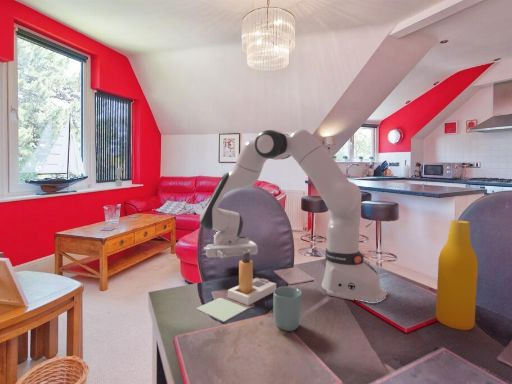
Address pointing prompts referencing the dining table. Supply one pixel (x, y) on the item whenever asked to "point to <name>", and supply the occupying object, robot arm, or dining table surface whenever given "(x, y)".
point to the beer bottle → (457, 279)
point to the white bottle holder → (259, 291)
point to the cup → (287, 307)
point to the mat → (221, 309)
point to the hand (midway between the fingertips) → (236, 255)
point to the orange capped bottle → (245, 274)
